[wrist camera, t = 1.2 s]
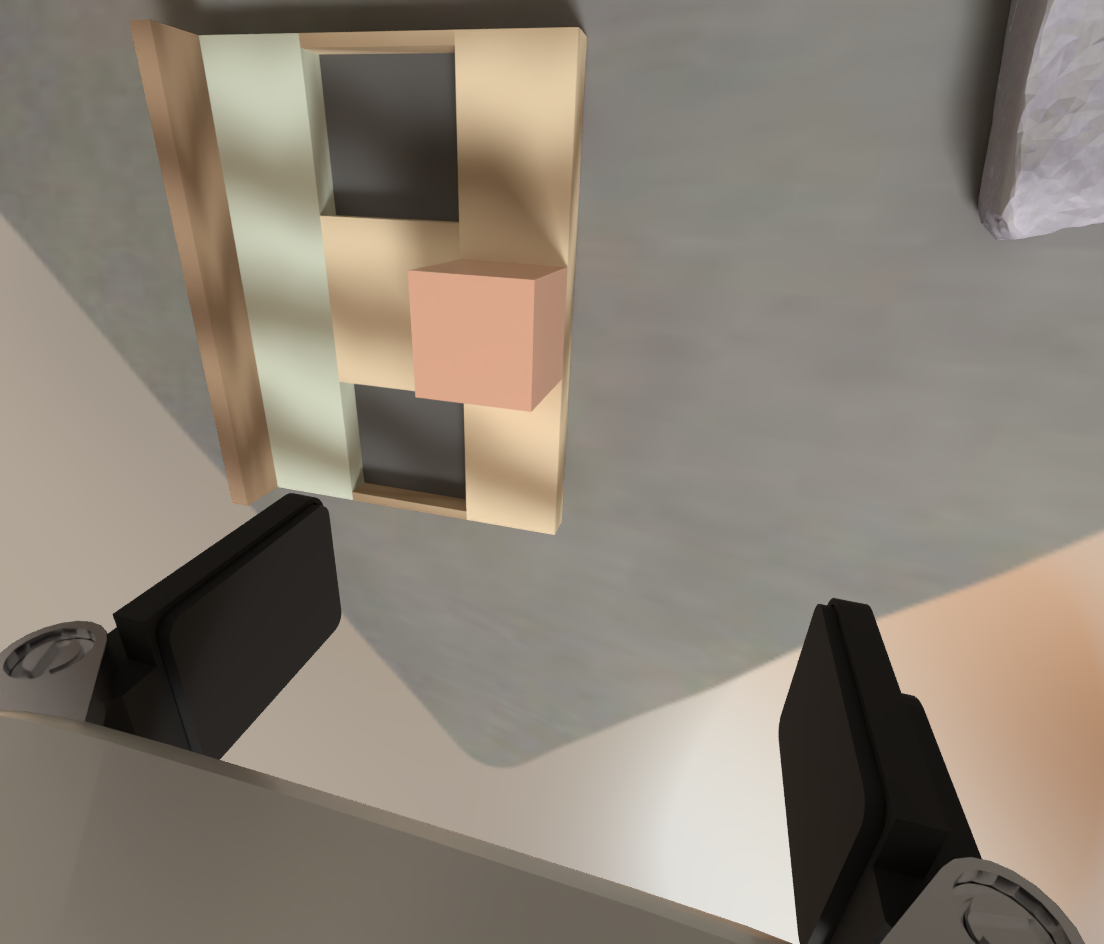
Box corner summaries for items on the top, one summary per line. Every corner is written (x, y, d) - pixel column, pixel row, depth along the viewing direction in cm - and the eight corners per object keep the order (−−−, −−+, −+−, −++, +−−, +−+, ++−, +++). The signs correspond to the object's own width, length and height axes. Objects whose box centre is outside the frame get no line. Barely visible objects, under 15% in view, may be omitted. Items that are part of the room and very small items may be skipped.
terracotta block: (460, 259, 27) (407, 270, 22) (567, 266, 26) (534, 279, 21) (462, 367, 29) (415, 397, 24) (562, 378, 28) (531, 412, 23)
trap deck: (206, 43, 27) (128, 20, 24) (587, 37, 23) (562, 7, 20) (280, 474, 37) (232, 503, 33) (561, 521, 33) (541, 559, 29)
